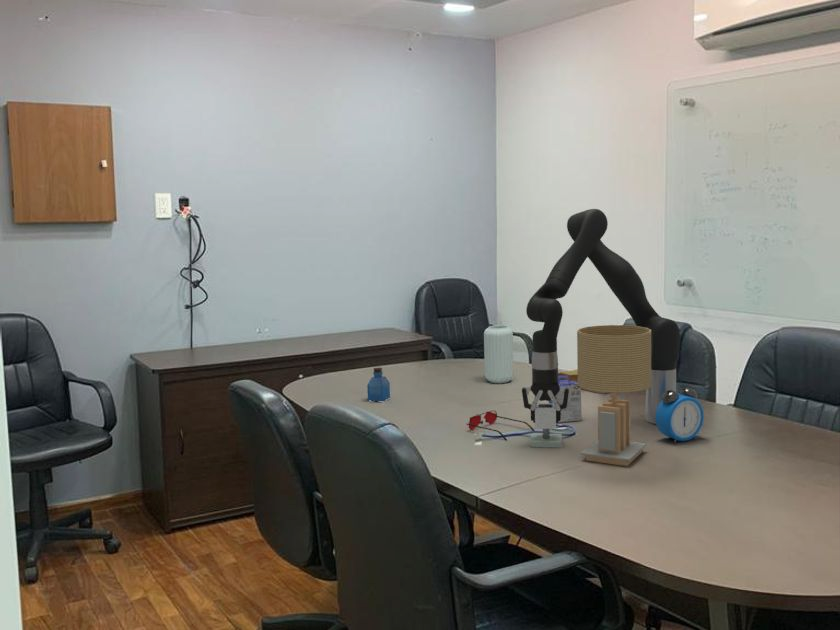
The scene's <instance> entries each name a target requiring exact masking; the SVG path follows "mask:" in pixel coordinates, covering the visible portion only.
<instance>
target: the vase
mask: <svg viewBox="0 0 840 630" xmlns="http://www.w3.org/2000/svg"><path fill="white" fill-rule="evenodd" d="M483 352H484V353H483V354H484V356H483V357H484V359H483V360H484V378H486V380H487V381H489V383H492V384H507V383H508V382H510V381H511V380H512V379H513V378H514V334H513V330H512V329H511V328H510V327H509V326H508V325H497V324H496V325H489V326H488V327H487V328H486V329H484V332H483Z"/></svg>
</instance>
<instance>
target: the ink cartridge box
mask: <svg viewBox="0 0 840 630" xmlns="http://www.w3.org/2000/svg"><path fill="white" fill-rule="evenodd" d="M563 377H564V378H567V380H560V378H563ZM558 384H559V386H560V387H562V388H566V387H568V388H569V394H568V401H567V408H566V409H562V410H561V420H560V421H558V423H565V422H566V423H567V422H568V423H569V422H575V421H576V422H577V421H582V420H583V419H582V416H583V415H582V414H583V413H582V412H583V411H582V390H581V387H580V386H579V385H578V382H576V381H570V382H569V378H568V375H564V376H558ZM556 398H557V400H558V402H559V404H563V398H564V395H562V393H561V391H559V392H558V394H557V395H556ZM548 403H550V404H553V402H552V400H551V401H548Z"/></svg>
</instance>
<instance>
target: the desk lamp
mask: <svg viewBox="0 0 840 630" xmlns="http://www.w3.org/2000/svg"><path fill="white" fill-rule="evenodd" d="M576 334H577V335H576V341H577V342H576V344H577V346H576V348H577V351H576V353H577V357H576V358H577V360H576V361H577V363H576V364H577V369H578V385H579V386H580V387H581V388H583V389H586V390H590V391H596V392H604V393H612V394H611V398H608V401H604V402H603V403H602V405H598V406H597V432H598V433H597V434H598V435H597V440H596V441H594V442H593V443H592V444H591V445H589V446H588V447H587V448H585V449H584V450H583V451H581V452H580V455H582V456H585V458H586V459H585V461H590V462H596V463H601V464H603V463H604V464H610V465H615V466H616V465H617V466H625V467H629V465H631V463H632V462H633V461H634V460H635V459H637V458H638V457H639V456H640V454H642V453H643V449H644V448H646V447H647V446H648V443H644V442H639V441H631V400H627V399H618V398H617V396H618V395H617V394H625V393H626V394H628V393H629V394H630V393H635V392H643V391H646V389H648V388H650V386H651V355H652V345H651V330H650V329H648V328H644V327H638V326H636V325H627V324H626V325H621V324H618V325H617V324H615V325H613V324H610V325H609V324H607V325H606V324H605V325H604V324H603V325H593V326H591V325H590V326H585V327H581V328H578V329H577V331H576Z"/></svg>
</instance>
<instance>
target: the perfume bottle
mask: <svg viewBox="0 0 840 630" xmlns="http://www.w3.org/2000/svg"><path fill="white" fill-rule="evenodd" d="M382 370H383V368H382V367H373V374H372V375H374V376H373V377H371V378H370V379H369V381H368V383H367V401H368V400H371V401H385V400H386V399H388V398H390V399H391V388H390V387H391V385H390V384H391V383H390V381H389V379H388V378H387V377H386V376H383V371H382ZM385 402H386V401H385Z"/></svg>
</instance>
